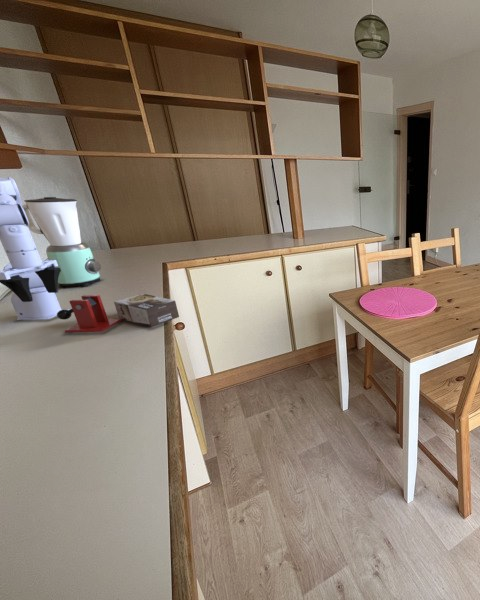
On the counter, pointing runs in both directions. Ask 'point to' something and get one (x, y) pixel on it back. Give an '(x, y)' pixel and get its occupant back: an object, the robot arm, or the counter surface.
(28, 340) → the counter surface
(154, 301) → the coffee box
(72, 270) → the mint green blender
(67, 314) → the lever
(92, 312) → the lever bracket
